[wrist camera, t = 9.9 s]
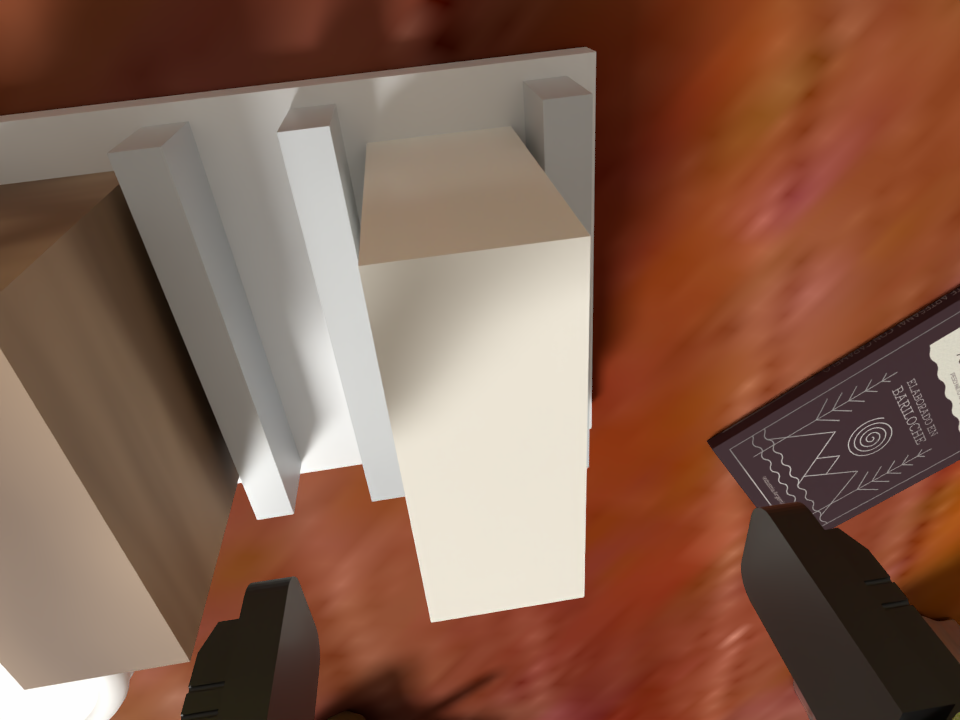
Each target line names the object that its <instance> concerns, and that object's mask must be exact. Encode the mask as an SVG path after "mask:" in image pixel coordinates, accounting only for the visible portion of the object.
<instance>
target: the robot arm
mask: <svg viewBox="0 0 960 720" xmlns="http://www.w3.org/2000/svg"><path fill="white" fill-rule="evenodd" d="M741 573H742V579H743V584H744V587H745V590H746V593H747V595H748V597H749V599H750V601H751V603H752V605H753V607H754V609H755V610H756V612H757V614H758V616H759V618H760V619H761V621H762V623H763V625H764V627H765V628H766V630H767V632H768V634H769V636H770V637H771V639H772V641H773V643H774V644H775V646H776V648H777V650H778V652H779V653H780V655H781V657H782V659H783V661H784V662H785V664H786V666H787V668H788V670H789V671H790V673H791V675H792V677H793V679H794V682H793V686H794V689H795V692H796V694H797V696H798V698H799V700H800V701H801V703H802V705H803V707H804V709H805V710H806V712H807V715H808V717H809V719H810V720H960V626H959V624H958V623H957V622H956V621H955V620H954V619H951V620H946V621H935V620H932V619H930V618H927V617H925V616H921V615H920V613H919V612H918V611H917V610H916V608H915V607H914V606H913V605H910V604H909V602H908V598H907V597H906V596H905V595H904V593H903V592H902V591H901V590H900V589H899V587H898V586H897V585H896V584H895V582H893V583H892V582H891V580H890V576H889V575H888V574H887V572H886V571H885V570H884V569H883V567H882V566H881V565H880V564H879V562H878V561H877V560H876V559H875V557H874V556H873V555H872V554H871V552H870V551H869V550H868V549H867V548H865V547H864V546H863V545H861V544H860V543H858V542H857V541H856V540H854V539H853V538H851V537H850V536H849V535H847V534H846V533H844V532H843V531H842V530H840V529H839V528H833V529H827V530H824V528H823V527H822V526H821V524H820V523H819V522H818V520H817V519H816V518H815V516H814V515H813V514H812V512H811V511H810V510H809V509H808V507H806V506H805V505H804V504H802V503H800V502H792V503H785V504H778V505H772V506H765V507H759V508H755V509H754V510H753V512H752V515H751V520H750V524H749V529H748V534H747V539H746V543H745V548H744V553H743V557H742V563H741ZM319 665H320V649H319V639H318V633H317V629H316V626H315V623H314V621H313V618H312V615H311V613H310V610H309V607H308V605H307V602H306V599H305V597H304V594H303V591H302V589H301V586H300V583H299V581H298V579H297V578H296V577H288V578H281V579H275V580H268V581H262V582H255V583H251V584H250V585H249V586H248V587H247V589H246V592H245V596H244V600H243V604H242V609H241V613H240V618H239V619H235V620H228V621H222V622H218V624H217V625H216V627H215V628H214V630H213V631H212V633H211V634H210V636H209V637H208V639H207V640H206V642H205V643H204V645H203V646H202V648H201V649H200V651H199V652H198V654H197V658H196V662H195V665H194V669H193V672H192V676H191V680H190V683H189V693H188V694H186V698H185V701H184V705H183V709H182V712H181V720H314V715H315V706H316V696H317V686H318V676H319Z"/></svg>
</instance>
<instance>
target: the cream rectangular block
mask: <svg viewBox="0 0 960 720" xmlns="http://www.w3.org/2000/svg"><path fill="white" fill-rule="evenodd" d="M590 249H591V236H590V234H589V233H588V232H587V230H586V229H585V227H584V226H583V225H582V223H581V222H580V221H579V219H578V218H577V216H576V215H575V214H574V212H573V211H572V210H571V208H570V207H569V205H568V204H567V203H566V201H565V200H564V198H563V197H562V196H561V194H560V193H559V192H558V190H557V189H556V187H555V186H554V185H553V183H552V182H551V181H550V179H549V178H548V176H547V175H546V174H545V172H544V171H543V169H542V168H541V167H540V165H539V164H538V163H537V161H536V160H535V158H534V157H533V156H532V154H531V153H530V152H529V150H528V149H527V147H526V146H525V145H524V143H523V142H522V140H521V139H520V138H519V136H518V135H517V134H516V132H515V131H514V129H513V128H512V127H511V126H508V127H500V128H491V129H482V130H474V131H465V132H457V133H448V134H440V135H431V136H422V137H414V138H405V139H397V140H388V141H379V142H371V143H367V146H366V160H365V174H364V189H363V203H362V218H361V232H360V247H359V261H358V268H359V273H360V278H361V282H362V287H363V292H364V297H365V302H366V307H367V312H368V317H369V322H370V326H371V331H372V336H373V341H374V346H375V351H376V356H377V361H378V365H379V370H380V375H381V380H382V385H383V390H384V395H385V400H386V405H387V409H388V414H389V419H390V424H391V429H392V434H393V439H394V444H395V449H396V453H397V458H398V463H399V468H400V473H401V478H402V483H403V488H404V492H405V497H406V502H407V507H408V512H409V517H410V522H411V527H412V532H413V536H414V541H415V546H416V551H417V556H418V561H419V566H420V571H421V575H422V580H423V585H424V590H425V595H426V600H427V605H428V610H429V615H430V619H431V622H437V621H443V620H449V619H455V618H461V617H467V616H473V615H479V614H485V613H491V612H497V611H503V610H509V609H515V608H521V607H527V606H533V605H539V604H545V603H551V602H557V601H563V600H569V599H575V598H581V597H584V580H585V525H586V470H587V415H588V359H589V304H590Z"/></svg>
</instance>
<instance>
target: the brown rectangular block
mask: <svg viewBox="0 0 960 720" xmlns="http://www.w3.org/2000/svg"><path fill="white" fill-rule="evenodd" d="M238 479H239V474H238V472H237V469H236V467H235V464H234V462H233V459H232V457H231V455H230V452H229V450H228V447H227V445H226V442H225V440H224V438H223V435H222V433H221V430H220V428H219V425H218V423H217V421H216V418H215V416H214V413H213V411H212V408H211V406H210V403H209V401H208V399H207V396H206V394H205V391H204V389H203V386H202V384H201V382H200V379H199V377H198V374H197V372H196V369H195V367H194V365H193V362H192V360H191V357H190V355H189V352H188V350H187V348H186V345H185V343H184V340H183V338H182V335H181V333H180V330H179V328H178V326H177V323H176V321H175V318H174V316H173V313H172V311H171V309H170V306H169V304H168V301H167V299H166V296H165V294H164V292H163V289H162V287H161V284H160V282H159V279H158V277H157V275H156V272H155V270H154V267H153V265H152V262H151V260H150V258H149V255H148V253H147V250H146V248H145V245H144V243H143V240H142V238H141V236H140V233H139V231H138V228H137V226H136V223H135V221H134V219H133V216H132V214H131V211H130V209H129V206H128V204H127V202H126V199H125V197H124V194H123V192H122V189H121V187H120V185H119V182H118V180H117V177H116V175H115V172H114V171H108V172H100V173H92V174H84V175H76V176H68V177H60V178H52V179H44V180H36V181H28V182H20V183H12V184H4V185H0V663H1V665H2V666H3V667H4V668H5V669H6V670H7V671H8V672H9V673H10V674H11V676H12V677H13V678H14V679H15V680H16V681H17V682H18V683H19V684H20V686H21V687H22V688H23V689H24V690H27V689H32V688H38V687H44V686H50V685H56V684H62V683H67V682H73V681H79V680H85V679H91V678H97V677H103V676H108V675H114V674H120V673H126V672H132V671H138V670H143V669H149V668H155V667H161V666H167V665H173V664H178V663H184V662H190V660H191V656H192V652H193V649H194V645H195V641H196V637H197V634H198V630H199V626H200V622H201V619H202V615H203V611H204V607H205V604H206V600H207V596H208V592H209V588H210V585H211V581H212V577H213V573H214V570H215V566H216V562H217V558H218V555H219V551H220V547H221V543H222V540H223V536H224V532H225V528H226V524H227V521H228V517H229V513H230V509H231V506H232V502H233V498H234V494H235V491H236V487H237V483H238Z"/></svg>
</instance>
